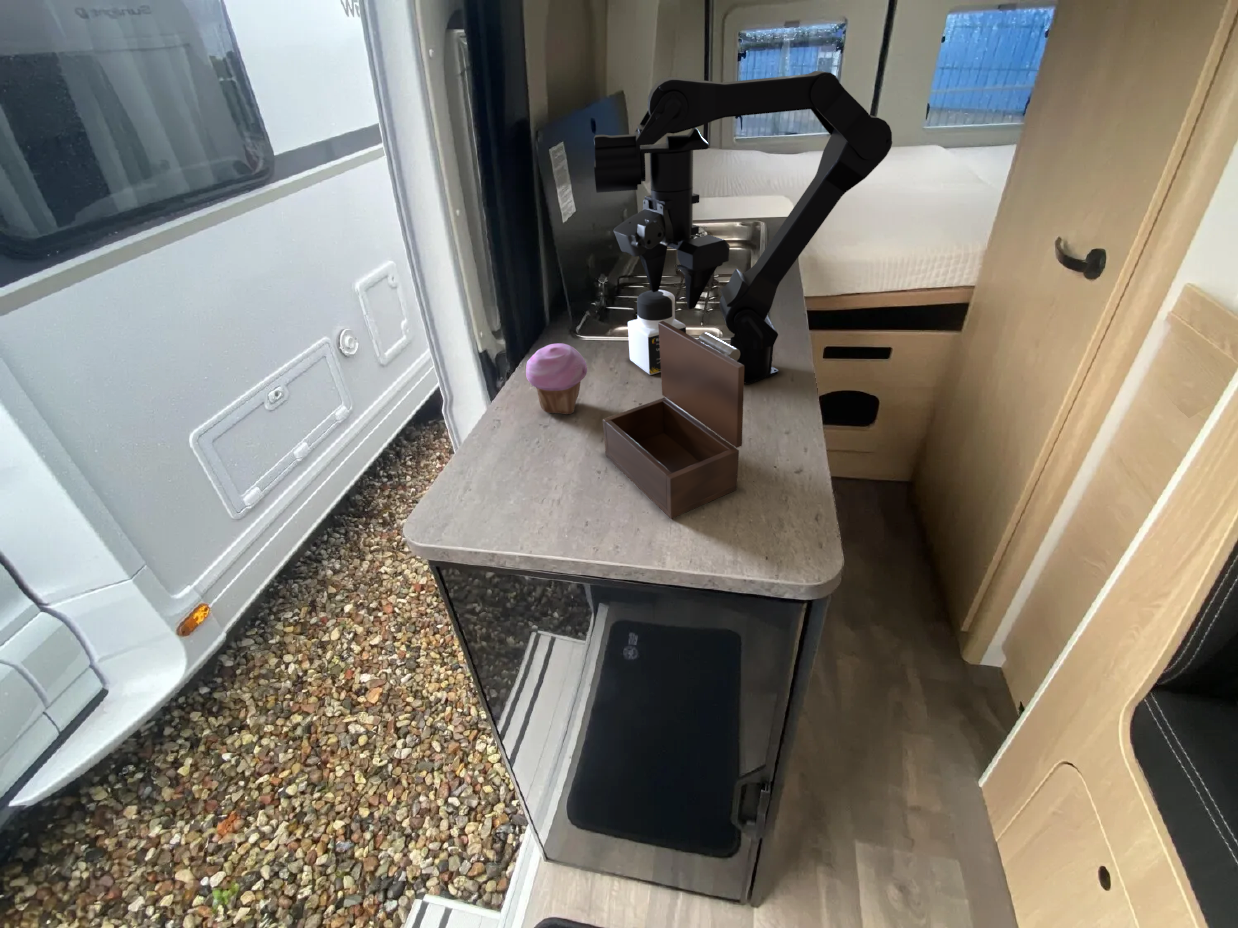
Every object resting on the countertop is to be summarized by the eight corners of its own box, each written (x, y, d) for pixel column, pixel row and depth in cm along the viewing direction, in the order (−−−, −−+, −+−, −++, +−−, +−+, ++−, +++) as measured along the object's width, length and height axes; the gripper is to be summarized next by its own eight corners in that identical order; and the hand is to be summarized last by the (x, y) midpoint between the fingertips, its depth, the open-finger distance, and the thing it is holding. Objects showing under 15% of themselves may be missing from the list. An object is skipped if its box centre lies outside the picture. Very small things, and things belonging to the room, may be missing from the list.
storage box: (671, 519, 70) (670, 478, 67) (605, 456, 81) (602, 418, 78) (736, 489, 74) (739, 450, 70) (665, 433, 85) (664, 397, 82)
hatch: (738, 367, 64) (769, 355, 65) (657, 322, 75) (685, 312, 77) (736, 448, 70) (765, 435, 71) (662, 395, 81) (687, 385, 83)
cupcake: (524, 420, 90) (513, 359, 84) (543, 392, 97) (534, 333, 91) (582, 424, 88) (575, 362, 83) (597, 395, 95) (591, 335, 89)
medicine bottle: (649, 376, 99) (647, 305, 92) (629, 360, 105) (625, 292, 98) (686, 365, 102) (686, 295, 95) (664, 350, 107) (663, 283, 100)
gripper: (586, 187, 85) (595, 295, 94) (662, 210, 72) (664, 333, 81) (651, 175, 90) (654, 279, 99) (735, 194, 77) (729, 312, 86)
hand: (672, 299), depth 91 cm, fingers open, 9 cm apart
